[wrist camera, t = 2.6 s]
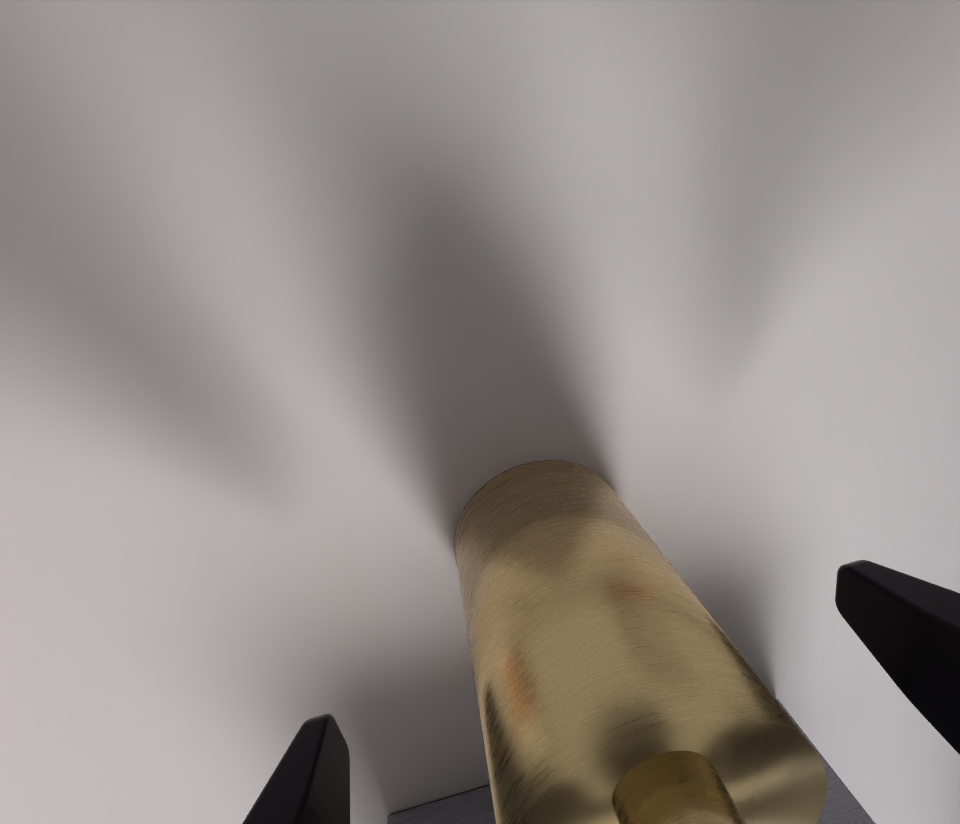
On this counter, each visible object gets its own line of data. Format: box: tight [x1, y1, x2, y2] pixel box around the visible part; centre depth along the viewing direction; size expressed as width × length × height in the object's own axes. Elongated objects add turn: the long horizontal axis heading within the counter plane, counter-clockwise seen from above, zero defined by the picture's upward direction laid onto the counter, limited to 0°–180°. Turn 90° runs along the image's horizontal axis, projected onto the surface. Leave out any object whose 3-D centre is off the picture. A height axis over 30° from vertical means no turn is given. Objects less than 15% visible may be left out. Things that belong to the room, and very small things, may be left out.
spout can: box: [455, 460, 827, 824], centre depth 8 cm, size 4×4×8 cm
